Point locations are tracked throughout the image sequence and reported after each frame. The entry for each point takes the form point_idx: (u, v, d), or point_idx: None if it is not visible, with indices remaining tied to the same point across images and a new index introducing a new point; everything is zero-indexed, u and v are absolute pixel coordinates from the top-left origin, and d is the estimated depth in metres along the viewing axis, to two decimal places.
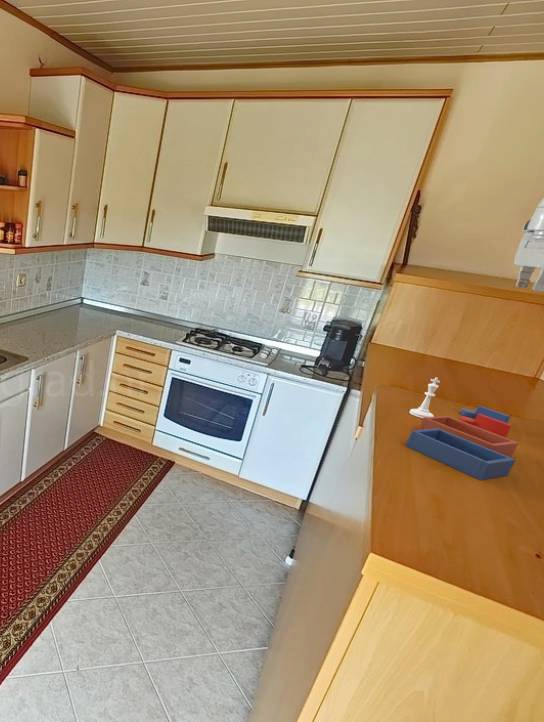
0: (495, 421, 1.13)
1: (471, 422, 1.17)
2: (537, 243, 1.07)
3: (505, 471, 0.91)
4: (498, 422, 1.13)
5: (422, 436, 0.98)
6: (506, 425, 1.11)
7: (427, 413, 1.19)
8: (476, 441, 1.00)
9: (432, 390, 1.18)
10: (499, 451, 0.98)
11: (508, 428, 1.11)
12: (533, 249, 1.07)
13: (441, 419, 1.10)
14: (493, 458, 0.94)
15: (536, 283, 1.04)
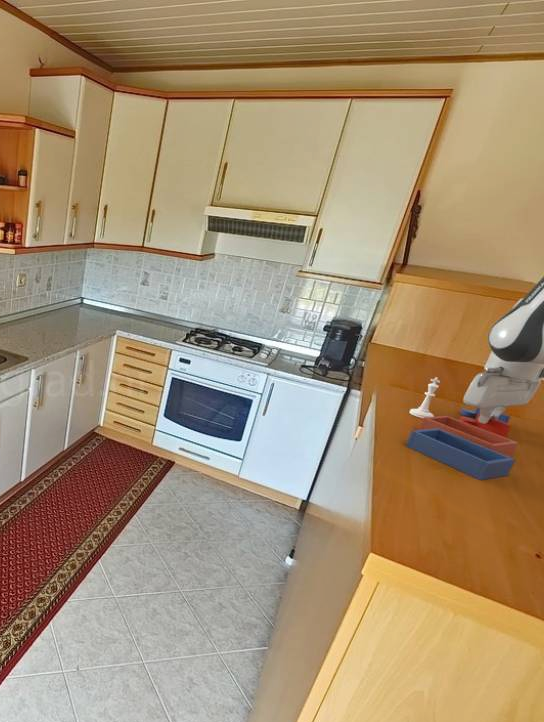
0: (495, 421, 1.13)
1: (471, 422, 1.17)
2: None
3: (505, 471, 0.91)
4: (498, 422, 1.13)
5: (422, 436, 0.98)
6: (506, 425, 1.11)
7: (427, 413, 1.19)
8: (476, 441, 1.00)
9: (432, 390, 1.18)
10: (499, 451, 0.98)
11: (508, 428, 1.11)
12: None
13: (441, 419, 1.10)
14: (493, 458, 0.94)
15: (480, 415, 1.15)
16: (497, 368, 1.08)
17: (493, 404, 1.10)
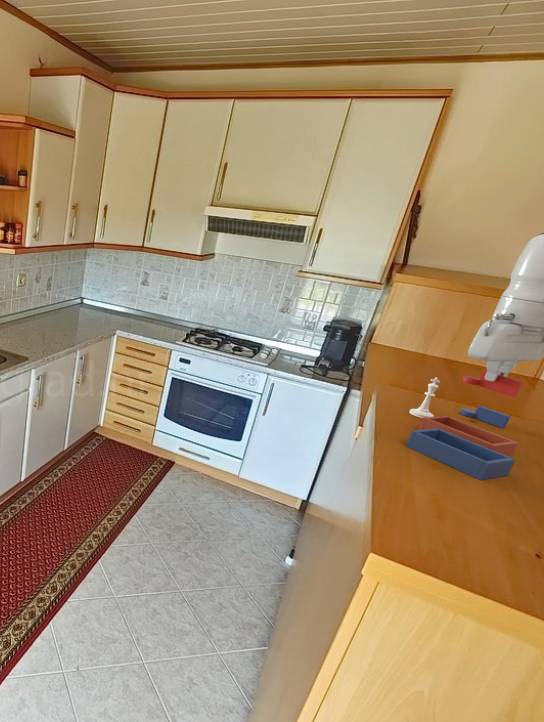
0: (503, 378, 0.99)
1: (476, 380, 1.03)
2: None
3: (505, 471, 0.91)
4: (507, 379, 0.98)
5: (422, 436, 0.98)
6: (517, 382, 0.97)
7: (427, 413, 1.19)
8: (476, 441, 1.00)
9: (432, 390, 1.18)
10: (499, 451, 0.98)
11: (519, 385, 0.97)
12: None
13: (441, 419, 1.10)
14: (493, 458, 0.94)
15: (487, 372, 1.00)
16: (507, 314, 0.94)
17: (502, 357, 0.95)
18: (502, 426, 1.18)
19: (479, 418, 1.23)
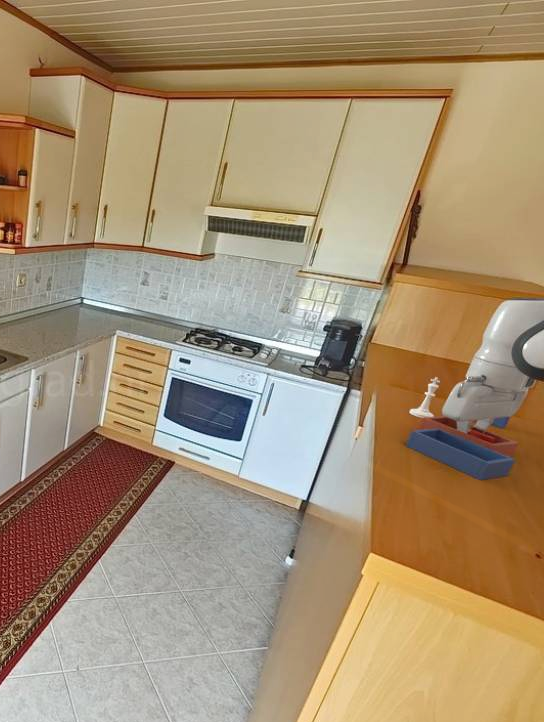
0: (476, 434, 1.02)
1: None
2: None
3: (505, 471, 0.91)
4: (480, 434, 1.02)
5: (422, 436, 0.98)
6: (489, 438, 1.01)
7: (427, 413, 1.19)
8: (476, 441, 1.00)
9: (432, 390, 1.18)
10: (499, 451, 0.98)
11: (491, 441, 1.00)
12: None
13: (441, 419, 1.10)
14: (493, 458, 0.94)
15: (457, 429, 1.03)
16: (479, 377, 0.97)
17: (475, 416, 0.99)
18: (502, 426, 1.18)
19: None
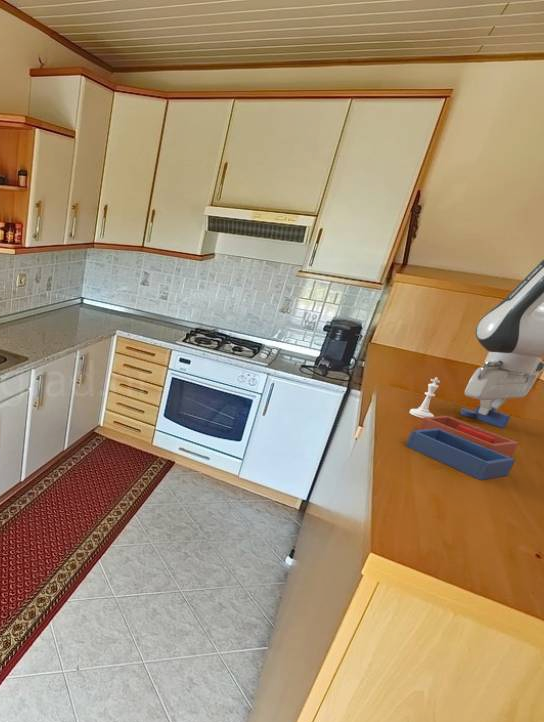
0: (476, 434, 1.02)
1: None
2: None
3: (505, 471, 0.91)
4: (480, 434, 1.02)
5: (422, 436, 0.98)
6: (489, 438, 1.01)
7: (427, 413, 1.19)
8: (476, 441, 1.00)
9: (432, 390, 1.18)
10: (499, 451, 0.98)
11: (491, 441, 1.00)
12: None
13: (441, 419, 1.10)
14: (493, 458, 0.94)
15: (480, 407, 1.21)
16: (496, 362, 1.14)
17: (492, 396, 1.16)
18: (502, 426, 1.18)
19: (479, 418, 1.23)
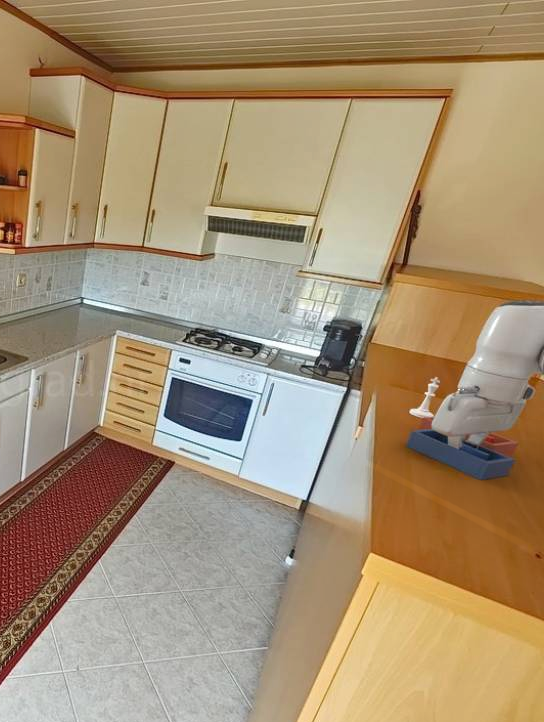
0: None
1: None
2: None
3: (505, 471, 0.91)
4: None
5: (422, 436, 0.98)
6: (489, 438, 1.01)
7: (427, 413, 1.19)
8: None
9: (432, 390, 1.18)
10: (499, 451, 0.98)
11: (491, 441, 1.00)
12: None
13: None
14: (493, 458, 0.94)
15: (448, 444, 0.95)
16: (472, 388, 0.88)
17: (467, 431, 0.90)
18: None
19: None
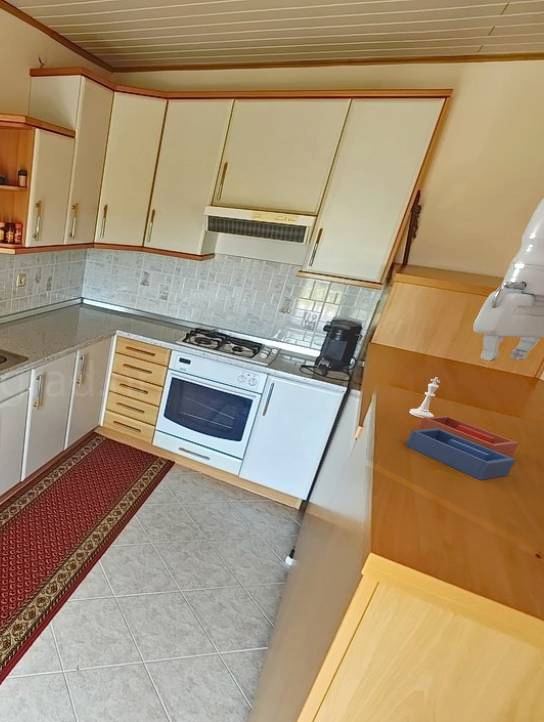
0: (476, 434, 1.02)
1: None
2: None
3: (505, 471, 0.91)
4: (480, 434, 1.02)
5: (422, 436, 0.98)
6: (489, 438, 1.01)
7: (427, 413, 1.19)
8: (476, 441, 1.00)
9: (432, 390, 1.18)
10: (499, 451, 0.98)
11: (491, 441, 1.00)
12: None
13: (441, 419, 1.10)
14: (493, 458, 0.94)
15: (483, 350, 0.87)
16: (518, 283, 0.82)
17: (512, 332, 0.84)
18: None
19: None
